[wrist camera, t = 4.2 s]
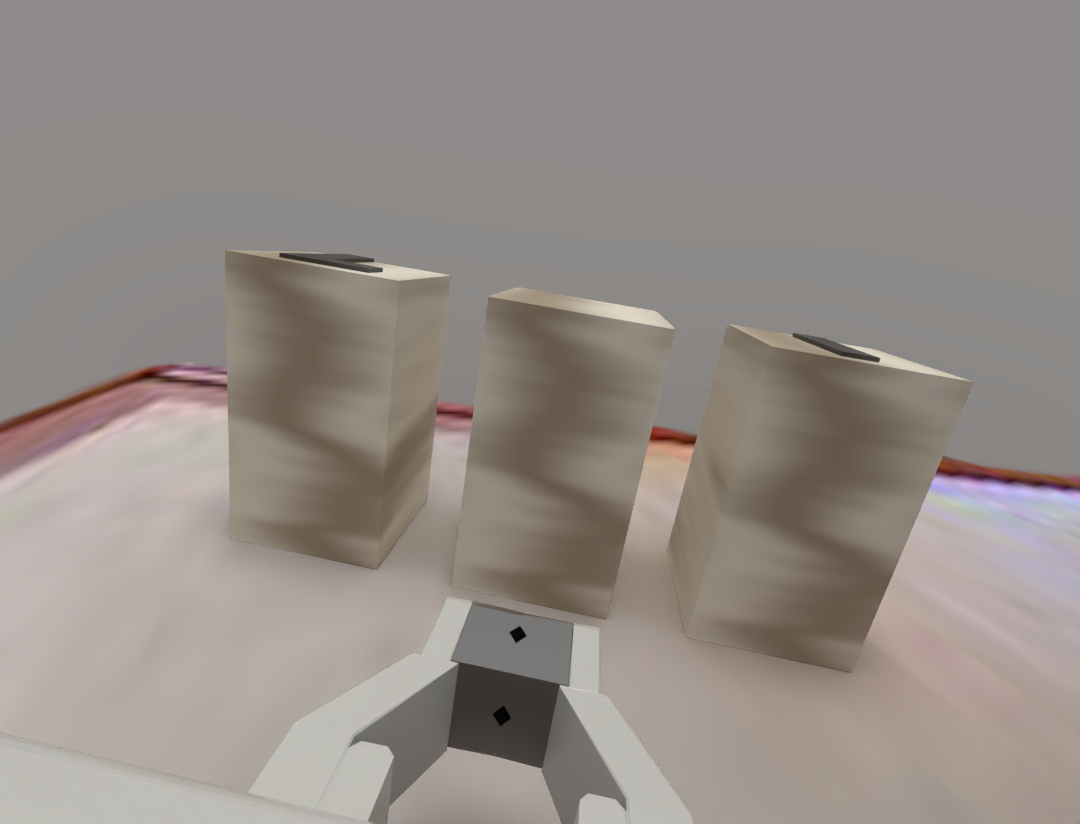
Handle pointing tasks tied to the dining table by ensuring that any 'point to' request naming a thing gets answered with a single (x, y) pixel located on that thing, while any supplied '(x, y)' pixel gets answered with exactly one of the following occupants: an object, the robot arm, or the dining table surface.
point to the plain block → (557, 447)
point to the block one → (804, 492)
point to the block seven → (330, 400)
